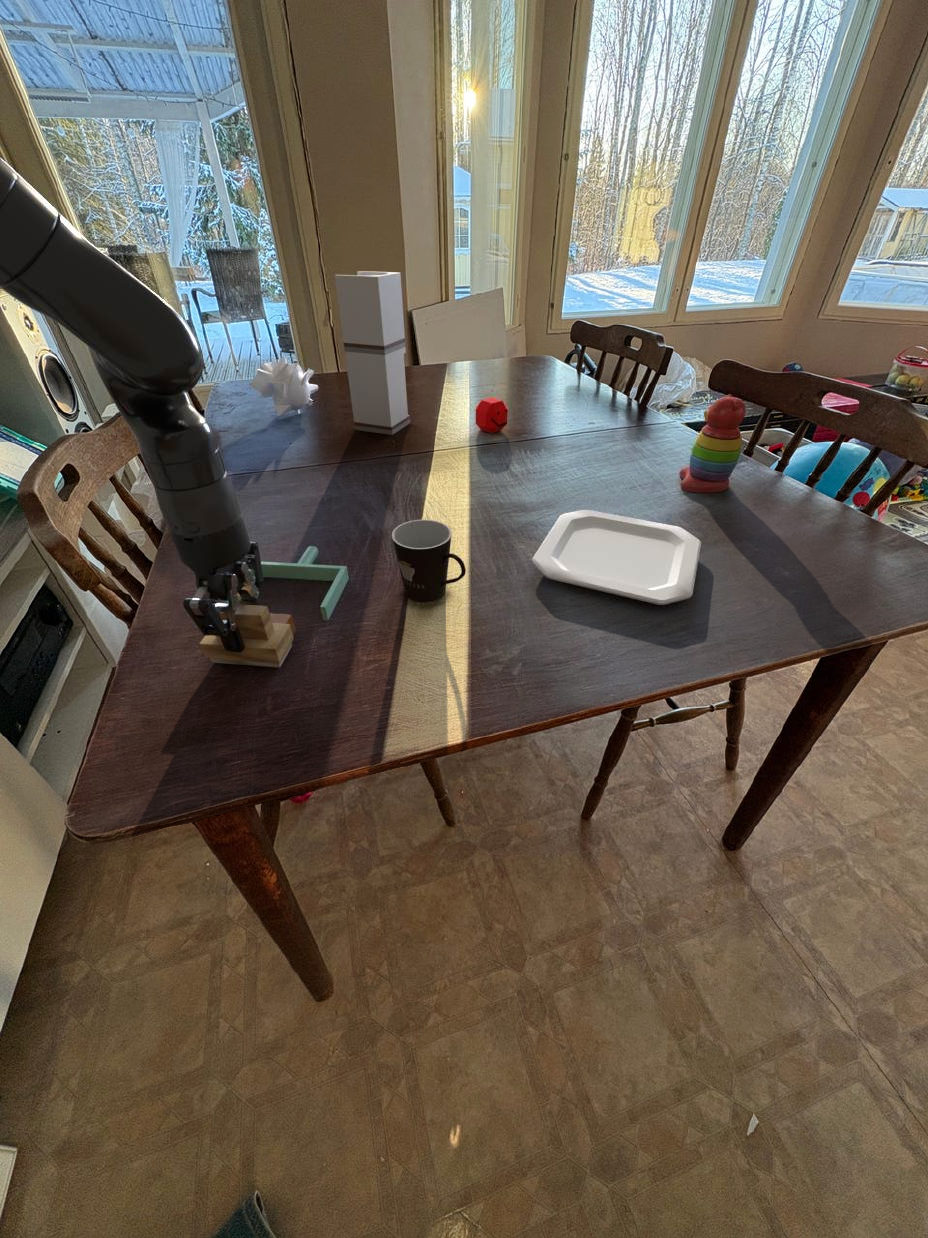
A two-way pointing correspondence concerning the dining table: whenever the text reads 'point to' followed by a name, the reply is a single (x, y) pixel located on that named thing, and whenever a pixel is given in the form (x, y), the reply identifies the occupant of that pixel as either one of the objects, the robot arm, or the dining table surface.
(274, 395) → the white spiky ornament
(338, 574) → the green u-shaped pusher
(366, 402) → the white banded pillar
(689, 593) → the plate
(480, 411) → the ball
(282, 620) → the crumb
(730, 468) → the stacking bear
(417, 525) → the coffee mug
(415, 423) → the dining table surface
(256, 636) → the stepped wooden block
